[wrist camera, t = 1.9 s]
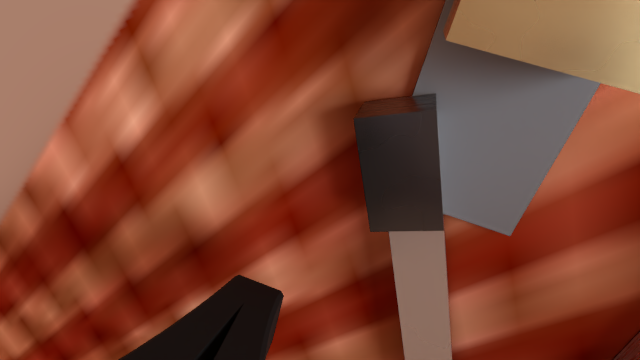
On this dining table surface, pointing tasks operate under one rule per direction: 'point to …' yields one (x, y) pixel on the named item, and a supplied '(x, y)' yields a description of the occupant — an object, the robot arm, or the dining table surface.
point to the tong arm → (409, 214)
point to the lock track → (496, 127)
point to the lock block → (556, 35)
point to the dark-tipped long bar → (630, 350)
